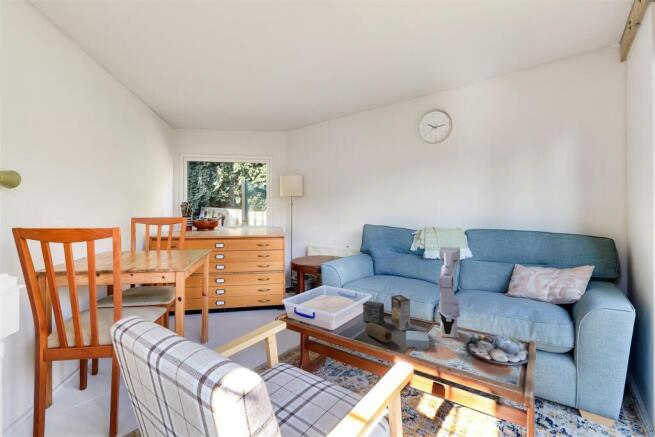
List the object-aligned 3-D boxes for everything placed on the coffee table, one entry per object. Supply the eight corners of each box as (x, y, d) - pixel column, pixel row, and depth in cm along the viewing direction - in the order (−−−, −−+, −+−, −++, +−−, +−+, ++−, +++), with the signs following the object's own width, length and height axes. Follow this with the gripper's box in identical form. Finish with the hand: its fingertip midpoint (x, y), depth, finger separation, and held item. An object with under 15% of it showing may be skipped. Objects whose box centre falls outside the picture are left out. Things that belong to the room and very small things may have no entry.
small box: (384, 321, 173) (384, 302, 173) (380, 325, 168) (380, 306, 167) (367, 317, 179) (367, 300, 179) (363, 321, 174) (362, 303, 173)
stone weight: (394, 341, 148) (394, 328, 148) (384, 345, 144) (384, 331, 144) (373, 331, 160) (373, 318, 160) (363, 335, 156) (363, 322, 156)
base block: (406, 338, 151) (405, 330, 151) (427, 339, 149) (426, 331, 149) (406, 347, 142) (406, 339, 141) (429, 349, 139) (429, 340, 139)
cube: (440, 331, 142) (440, 321, 142) (452, 332, 141) (451, 321, 140) (441, 336, 137) (441, 325, 137) (453, 337, 136) (453, 326, 136)
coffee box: (391, 324, 168) (390, 295, 167) (400, 322, 170) (400, 294, 170) (400, 331, 159) (400, 300, 159) (411, 328, 162) (410, 299, 161)
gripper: (435, 296, 146) (436, 324, 147) (438, 306, 132) (439, 337, 133) (451, 297, 144) (451, 325, 145) (456, 307, 130) (456, 338, 131)
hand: (446, 331), depth 139 cm, fingers closed on cube, 5 cm apart
